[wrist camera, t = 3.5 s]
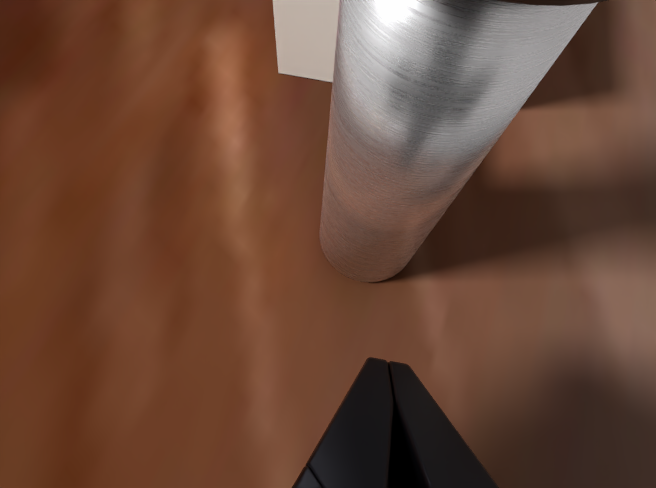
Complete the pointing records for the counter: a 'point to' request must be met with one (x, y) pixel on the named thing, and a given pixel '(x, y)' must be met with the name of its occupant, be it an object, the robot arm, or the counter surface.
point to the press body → (306, 37)
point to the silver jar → (423, 113)
